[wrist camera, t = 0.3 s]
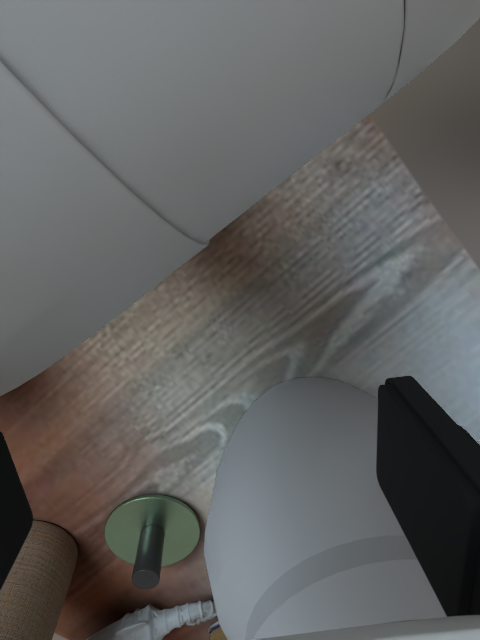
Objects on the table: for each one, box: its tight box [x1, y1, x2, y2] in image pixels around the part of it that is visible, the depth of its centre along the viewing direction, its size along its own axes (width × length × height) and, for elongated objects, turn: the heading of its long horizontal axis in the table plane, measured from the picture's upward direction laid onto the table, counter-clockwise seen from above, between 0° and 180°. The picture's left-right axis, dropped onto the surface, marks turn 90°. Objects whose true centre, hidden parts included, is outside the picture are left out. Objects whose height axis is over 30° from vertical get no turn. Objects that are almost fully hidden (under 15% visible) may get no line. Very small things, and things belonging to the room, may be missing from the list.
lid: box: [104, 495, 200, 589], centre depth 45 cm, size 11×11×7 cm
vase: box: [204, 377, 447, 640], centre depth 32 cm, size 20×20×24 cm
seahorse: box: [87, 600, 217, 640], centre depth 51 cm, size 5×12×20 cm
